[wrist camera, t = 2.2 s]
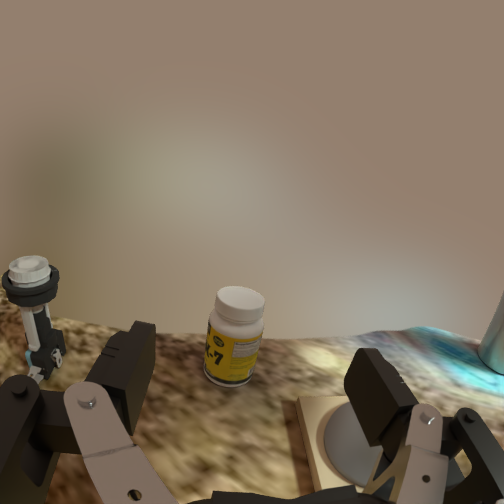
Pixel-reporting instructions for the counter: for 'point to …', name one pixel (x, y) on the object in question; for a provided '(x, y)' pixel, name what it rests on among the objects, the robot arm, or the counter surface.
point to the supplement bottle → (234, 336)
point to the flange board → (335, 443)
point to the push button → (36, 311)
